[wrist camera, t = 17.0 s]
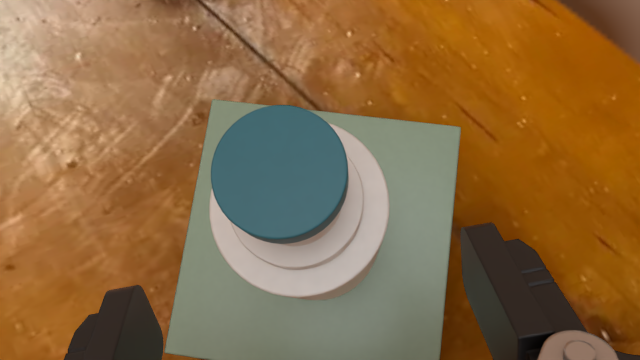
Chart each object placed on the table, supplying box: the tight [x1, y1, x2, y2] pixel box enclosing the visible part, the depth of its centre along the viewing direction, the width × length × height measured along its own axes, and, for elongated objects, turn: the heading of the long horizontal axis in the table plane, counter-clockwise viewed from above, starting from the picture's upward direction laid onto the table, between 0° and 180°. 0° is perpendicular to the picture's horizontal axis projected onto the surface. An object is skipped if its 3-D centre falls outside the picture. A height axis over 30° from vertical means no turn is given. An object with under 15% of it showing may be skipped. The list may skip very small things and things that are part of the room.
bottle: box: [209, 105, 390, 300], centre depth 19 cm, size 6×6×13 cm
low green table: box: [165, 99, 461, 360], centre depth 28 cm, size 12×12×5 cm
